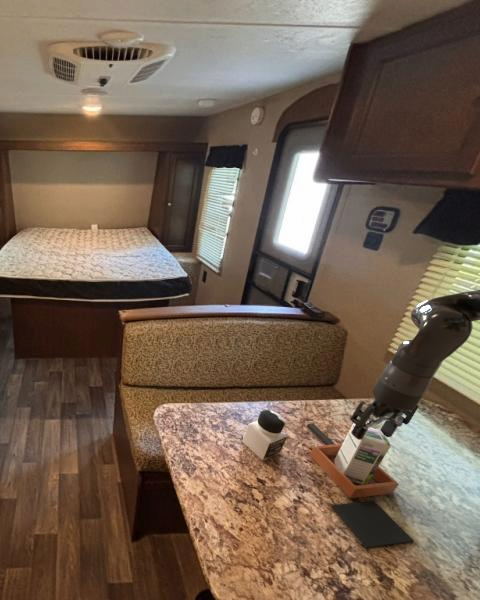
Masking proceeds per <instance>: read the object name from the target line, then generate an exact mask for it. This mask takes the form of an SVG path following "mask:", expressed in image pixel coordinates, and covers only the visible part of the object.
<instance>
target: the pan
mask: <svg viewBox="0 0 480 600" xmlns="http://www.w3.org/2000/svg"><path fill="white" fill-rule="evenodd" d="M306 428H307V429H308V430H309V431H310V432H311V433H312V434H313V435H314V436H315V437H316V438H317V439H318V440H319V441H320V442H321V443H322V444H323V445H314V446H313V448H312V450H311V451H310V453H309V456H310V457H311V458H312V459H313V460H314V461H315V463H316V464H317V465H318V466H319V467H320V468H321V469H322V470H323V471H324V472H325V474H327V476H328V477H329V478H330V479H331V480H332V481H333V482H334V483H335V484H336V485H337V486H338V487H339V489H341V491H342V492H343V493H344V494H345V495H346V496H347V497H348V498H349V499H357V498H365V497H374V496H382V495H390V494H394V492H395V491H396V489H397V488H398V487H399V483H398V482H397V481H396V480H395V479H394V478H393V477H391V475H390V474H388V473H387V472H386V471H385V470H384V469H383V468H382V467H381V466H380V465H379V466H378V468H377V469H376V471H375V473H374V474H373V476H372V477H371V478H373V480H375V481H376V482H377V483H370V484H369V483H368V484H367V485H362V484H359V485H355V484H354V482H352V481H350V480H349V479H348V478H347V477H346V476H345V475H344V474H343V473H342V472H341V471H340V470H339V469H338V468H337V467H336V466H335V463H334V461H332V460H331V459H330V458H329V456H337V454H338V452H339V450H340V448H341V446H342V444H343V443H335V442H334V441H333V440H332V439H331V438H329V437H328V435H326V434H325V433H324V432H323V431H322V430H321V429H320V428H319V427H318V426H317V425H316V424H315V423H313V422H312V423H311V422H310V423H307V424H306Z"/></svg>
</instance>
